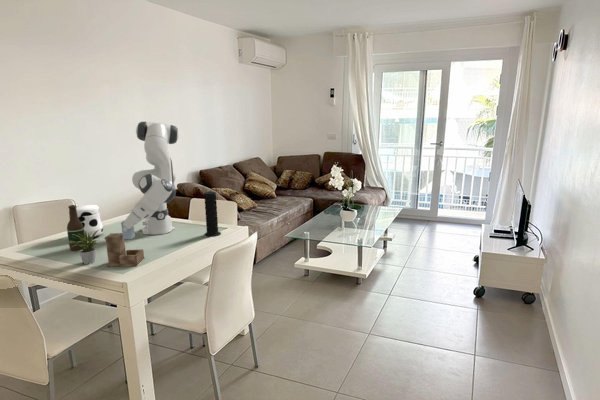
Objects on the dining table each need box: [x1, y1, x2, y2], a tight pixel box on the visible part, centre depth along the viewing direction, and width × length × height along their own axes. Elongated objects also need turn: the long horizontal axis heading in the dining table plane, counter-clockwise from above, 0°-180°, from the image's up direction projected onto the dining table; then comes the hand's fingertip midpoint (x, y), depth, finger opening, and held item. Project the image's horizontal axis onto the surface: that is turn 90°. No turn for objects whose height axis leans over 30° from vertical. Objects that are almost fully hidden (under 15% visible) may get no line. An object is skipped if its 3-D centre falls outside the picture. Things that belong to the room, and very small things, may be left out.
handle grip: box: [203, 190, 222, 238], centre depth 227 cm, size 10×26×10 cm
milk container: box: [68, 204, 104, 240], centre depth 227 cm, size 17×17×18 cm
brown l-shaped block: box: [104, 232, 145, 267], centre depth 184 cm, size 14×10×14 cm
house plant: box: [68, 229, 101, 265], centre depth 186 cm, size 14×14×16 cm
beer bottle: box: [66, 204, 84, 252], centre depth 205 cm, size 8×8×24 cm
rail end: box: [120, 220, 136, 240], centre depth 182 cm, size 4×4×8 cm
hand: (126, 228), depth 182 cm, fingers closed on rail end, 4 cm apart
